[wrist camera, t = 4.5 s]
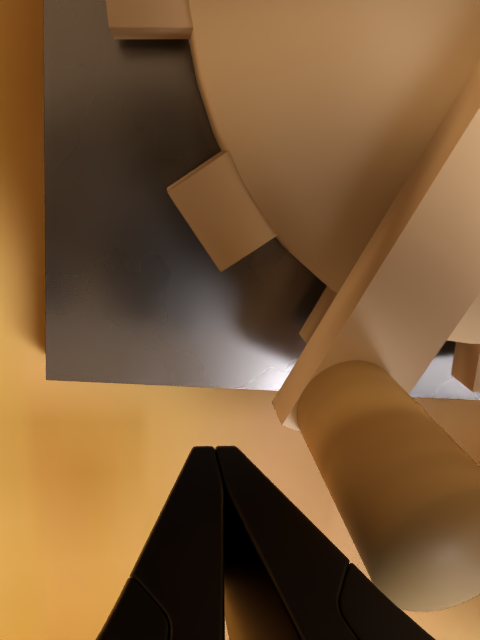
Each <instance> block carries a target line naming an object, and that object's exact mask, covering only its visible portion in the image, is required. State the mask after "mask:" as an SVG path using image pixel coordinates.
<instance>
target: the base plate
mask: <svg viewBox="0 0 480 640" xmlns="http://www.w3.org/2000/svg"><path fill="white" fill-rule="evenodd" d="M43 11H44V158H45V305H46V380H59V381H80V382H102V383H123V384H145V385H166V386H187V387H209V388H230V389H252V390H273V391H279V390H280V388H281V386H282V385H283V383H284V381H285V380H286V378H287V376H288V375H289V373H290V371H291V370H292V368H293V367H294V365H295V363H296V362H297V360H298V358H299V357H300V355H301V353H302V352H303V350H304V348H305V347H306V345H307V344H306V343H305V341H304V340H303V338H302V337H301V336H300V334H299V332H300V331H301V329H302V327H303V325H304V324H305V322H306V320H307V319H308V317H309V315H310V314H311V312H312V310H313V309H314V307H315V305H316V304H317V302H318V300H319V299H320V297H321V295H322V294H323V292H324V290H325V288H326V287H327V285H326V284H325V283H323V282H322V281H321V280H320V279H319V278H318V277H317V276H315V275H314V274H313V273H312V272H311V271H310V270H309V269H308V268H306V267H305V266H304V265H303V264H302V263H301V262H300V261H299V260H298V259H297V258H295V257H294V256H293V255H292V254H291V253H290V252H289V251H288V250H287V249H286V248H284V247H283V246H282V244H281V243H280V242H279V241H278V240H277V238H276V237H274V238H273V239H271V240H270V241H268V242H267V243H265V244H264V245H262V246H260V247H259V248H257V249H256V250H254V251H253V252H251V253H250V254H248V255H247V256H245V257H244V258H242V259H241V260H239V261H238V262H236V263H234V264H233V265H231V266H230V267H228V268H227V269H225V270H224V271H222V272H220V270H219V269H218V267H217V266H216V264H215V263H214V261H213V260H212V258H211V257H210V255H209V254H208V252H207V251H206V249H205V248H204V247H203V245H202V244H201V242H200V241H199V239H198V238H197V236H196V235H195V233H194V232H193V230H192V229H191V227H190V226H189V224H188V223H187V221H186V220H185V218H184V217H183V215H182V214H181V212H180V211H179V209H178V208H177V206H176V205H175V203H174V202H173V200H172V199H171V197H170V196H169V194H168V193H167V187H169V186H170V185H172V184H173V183H175V182H176V181H178V180H179V179H181V178H182V177H184V176H185V175H187V174H188V173H190V172H191V171H193V170H194V169H196V168H197V167H199V166H200V165H201V164H203V163H204V162H206V161H207V160H209V159H210V158H212V157H213V156H215V155H216V154H218V153H219V152H221V149H220V147H219V145H218V143H217V140H216V138H215V136H214V134H213V131H212V128H211V125H210V122H209V119H208V116H207V113H206V109H205V106H204V103H203V100H202V97H201V94H200V91H199V88H198V84H197V81H196V75H195V70H194V65H193V60H192V55H191V50H190V45H189V40H188V39H114V37H113V35H112V33H111V31H110V29H109V24H108V16H107V7H106V0H43ZM455 345H456V342H455V341H448V340H446V342H445V343H444V345H443V346H442V348H441V349H440V350H439V352H438V353H437V355H436V356H435V358H434V359H433V361H432V362H431V363H430V365H429V366H428V368H427V369H426V371H425V372H424V373H423V375H422V376H421V378H420V379H419V381H418V382H417V383H416V385H415V386H414V388H413V389H412V391H411V392H410V393H409V395H410V396H411V397H423V398H445V399H466V400H480V391H479V392H472V391H470V390H469V389H468V388H467V387H465V386H464V385H463V384H462V383H460V382H459V381H458V380H457V379H456V378H454V377H453V376H452V375H451V370H452V364H453V358H454V352H455Z"/></svg>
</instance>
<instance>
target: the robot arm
mask: <svg viewBox="0 0 480 640" xmlns="http://www.w3.org/2000/svg"><path fill="white" fill-rule="evenodd" d="M225 619H226V624H227V630H228V635H229V640H435V639H434V638H433V637H432V636H431V635H429V634H428V633H427V632H426V631H425V630H424V629H422V628H421V627H420V626H419V625H418V624H417V623H416V622H414V621H413V620H412V619H411V618H410V617H409V616H408V615H406V614H405V613H404V612H403V611H402V610H401V609H400V608H398V607H397V606H396V605H395V604H394V603H393V602H392V601H391V600H390V599H389V598H388V597H387V596H386V595H385V594H384V593H382V592H381V591H380V590H379V589H378V588H377V587H376V586H375V585H374V584H373V583H372V582H371V581H370V580H369V579H368V578H367V577H366V576H365V575H364V574H363V573H362V572H361V571H360V570H359V569H358V568H357V567H356V566H355V565H354V564H353V563H350V564H349V559H348V558H347V557H346V556H345V555H344V554H343V553H342V552H341V551H340V550H339V549H338V548H337V547H336V546H335V545H334V544H333V543H332V542H331V541H330V540H329V539H328V538H327V537H326V536H325V535H324V534H323V533H322V532H321V531H320V530H319V529H318V528H317V527H316V526H315V525H314V524H313V523H312V522H311V521H310V520H309V519H308V518H307V517H306V516H305V515H304V514H303V513H302V512H301V511H300V510H299V509H298V508H297V507H296V506H295V505H294V504H293V503H292V502H291V501H290V500H289V499H288V498H287V497H286V496H285V495H284V494H283V493H282V492H281V491H280V490H279V489H278V488H277V487H276V486H275V485H274V484H273V483H272V482H271V481H270V480H269V479H268V478H267V477H266V476H265V475H264V474H263V473H262V472H261V471H260V470H259V469H258V468H257V467H256V466H255V465H254V464H253V463H252V462H251V461H250V460H249V459H248V458H247V457H246V456H245V455H244V454H243V453H242V452H241V451H240V450H239V449H238V448H237V447H236V446H217V447H216V448H215V449H214V448H213V447H212V446H196V447H193V448H192V450H191V451H190V454H189V456H188V458H187V460H186V462H185V464H184V466H183V468H182V470H181V472H180V474H179V476H178V478H177V480H176V482H175V484H174V486H173V488H172V490H171V492H170V494H169V496H168V498H167V500H166V503H165V505H164V507H163V509H162V511H161V513H160V515H159V517H158V519H157V521H156V523H155V525H154V527H153V529H152V531H151V533H150V535H149V537H148V539H147V541H146V543H145V545H144V547H143V550H142V552H141V554H140V556H139V558H138V560H137V562H136V564H135V566H134V568H133V570H132V572H131V574H130V578H128V580H127V582H126V584H125V586H124V588H123V590H122V592H121V594H120V596H119V598H118V600H117V602H116V604H115V605H114V607H113V609H112V611H111V613H110V615H109V617H108V619H107V620H106V622H105V624H104V626H103V628H102V630H101V631H100V633H99V635H98V636H97V638H96V640H225Z"/></svg>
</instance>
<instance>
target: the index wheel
mask: <svg viewBox="0 0 480 640" xmlns="http://www.w3.org/2000/svg"><path fill="white" fill-rule="evenodd" d="M106 7H107V16H108V24H109V29H110V31H111V33H112V35H113V37H114V39H188V40H189V45H190V50H191V55H192V60H193V65H194V70H195V75H196V81H197V84H198V88H199V91H200V94H201V97H202V100H203V103H204V106H205V109H206V113H207V116H208V119H209V122H210V125H211V128H212V131H213V134H214V136H215V138H216V140H217V143H218V145H219V147H220V149H221V152H219V153H218V154H216V155H215V156H213V157H212V158H210V159H209V160H207V161H206V162H204V163H203V164H201V165H200V166H199V167H197V168H196V169H194V170H193V171H191V172H190V173H188V174H187V175H185V176H184V177H182V178H181V179H179V180H178V181H176V182H175V183H173V184H172V185H170V186H169V187H167V193H168V194H169V196H170V197H171V199H172V200H173V202H174V203H175V205H176V206H177V208H178V209H179V211H180V212H181V214H182V215H183V217H184V218H185V220H186V221H187V223H188V224H189V226H190V227H191V229H192V230H193V232H194V233H195V235H196V236H197V238H198V239H199V241H200V242H201V244H202V245H203V247H204V248H205V249H206V251H207V252H208V254H209V255H210V257H211V258H212V260H213V261H214V263H215V264H216V266H217V267H218V269H219V270H220V272H222V271H224V270H225V269H227V268H228V267H230V266H231V265H233V264H234V263H236V262H238V261H239V260H241V259H242V258H244V257H245V256H247V255H248V254H250V253H251V252H253V251H254V250H256V249H257V248H259V247H260V246H262V245H264V244H265V243H267V242H268V241H270V240H271V239H273V238H274V237H276V238H277V240H278V241H279V242H280V243H281V244H282V246H283V247H284V248H286V249H287V250H288V251H289V252H290V253H291V254H292V255H293V256H294V257H295V258H297V259H298V260H299V261H300V262H301V263H302V264H303V265H304V266H305V267H306V268H308V269H309V270H310V271H311V272H312V273H313V274H314V275H315V276H317V277H318V278H319V279H320V280H321V281H322V282H323V283H325V284H326V285H327V287H326V288H325V290H324V292H323V294H322V295H321V297H320V299H319V300H318V302H317V304H316V305H315V307H314V309H313V310H312V312H311V314H310V315H309V317H308V319H307V320H306V322H305V324H304V325H303V327H302V329H301V331H300V332H299V334H300V336H301V337H302V338H303V340H304V341H305V343H306V344H307V345H306V347H305V348H304V350H303V352H302V353H301V355H300V357H299V358H298V360H297V362H296V363H295V365H294V367H293V368H292V370H291V371H290V373H289V375H288V376H287V378H286V380H285V381H284V383H283V385H282V386H281V388H280V390H279V391H278V393H277V395H276V396H275V398H274V400H273V401H272V403H273V405H274V408H275V410H276V413H277V415H278V417H279V420H280V422H281V424H282V426H285V427H288V428H290V429H293V430H295V431H298V432H301V433H302V435H303V437H304V439H305V441H306V443H307V446H308V448H309V450H310V452H311V454H312V456H313V458H314V460H315V462H316V464H317V467H318V469H319V471H320V473H321V475H322V477H323V479H324V481H325V483H326V485H327V488H328V490H329V492H330V494H331V496H332V498H333V500H334V502H335V504H336V506H337V509H338V511H339V513H340V515H341V517H342V519H343V521H344V523H345V525H346V527H347V529H348V532H349V534H350V536H351V538H352V540H353V542H354V544H355V546H356V548H357V550H358V553H359V555H360V557H361V559H362V561H363V563H364V565H365V567H366V569H367V571H368V574H369V576H370V578H371V580H372V582H373V584H374V585H375V586H376V587H377V588H378V589H379V590H380V591H381V592H382V593H384V594H385V595H386V596H387V597H388V598H389V599H390V600H391V601H392V602H393V603H394V604H395V605H396V606H397V607H398V608H400V609H403V610H407V611H413V612H430V611H438V610H443V609H447V608H450V607H454V606H456V605H459V604H461V603H464V602H466V601H468V600H470V599H472V598H474V597H476V596H477V595H479V594H480V467H479V466H478V465H477V464H476V463H475V462H474V461H473V460H472V459H471V458H470V457H469V456H468V455H467V454H466V453H465V452H464V451H463V450H462V449H461V448H460V447H459V445H458V444H457V443H456V442H455V441H454V440H453V439H452V438H451V437H450V436H449V435H448V434H447V433H446V432H445V431H444V430H443V429H442V428H441V427H440V426H439V425H438V424H437V423H436V422H435V421H434V420H433V419H432V418H431V417H430V416H429V415H428V414H427V413H426V412H425V411H424V410H423V409H422V408H421V406H420V405H419V404H418V403H417V402H416V401H415V400H414V399H413V398H412V397H411V396H410V395H409V393H410V392H411V391H412V389H413V388H414V386H415V385H416V383H417V382H418V381H419V379H420V378H421V376H422V375H423V373H424V372H425V371H426V369H427V368H428V366H429V365H430V363H431V362H432V361H433V359H434V358H435V356H436V355H437V353H438V352H439V350H440V349H441V348H442V346H443V345H444V343H445V342H446V340H448V341H455V342H456V345H455V352H454V358H453V364H452V370H451V375H452V376H453V377H454V378H456V379H457V380H458V381H459V382H460V383H462V384H463V385H464V386H465V387H467V388H468V389H469V390H470V391H472V392H479V391H480V0H106Z"/></svg>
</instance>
